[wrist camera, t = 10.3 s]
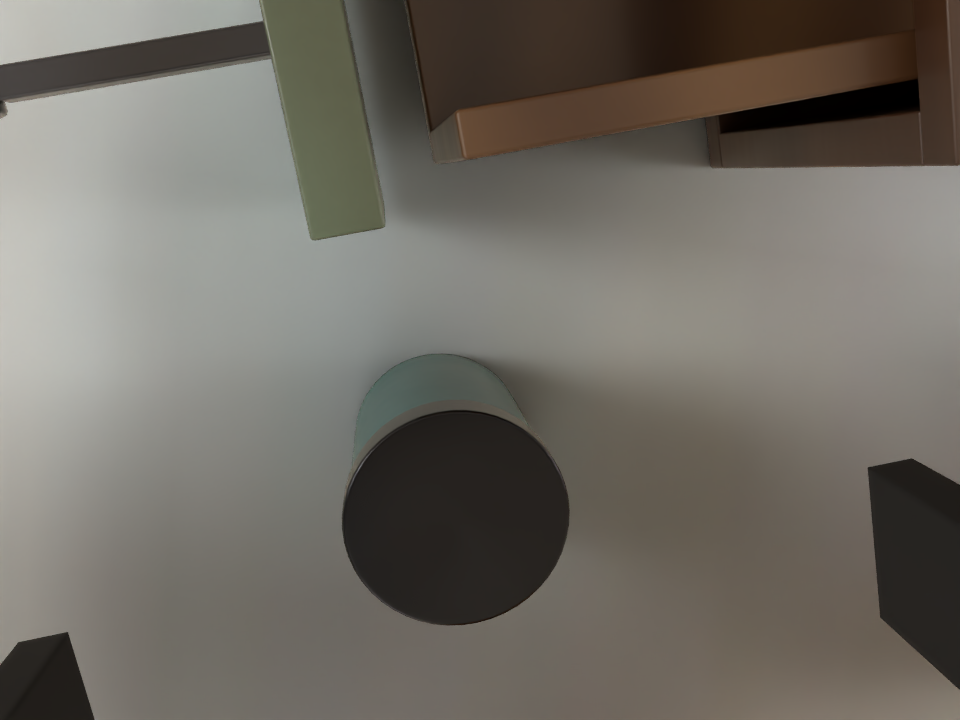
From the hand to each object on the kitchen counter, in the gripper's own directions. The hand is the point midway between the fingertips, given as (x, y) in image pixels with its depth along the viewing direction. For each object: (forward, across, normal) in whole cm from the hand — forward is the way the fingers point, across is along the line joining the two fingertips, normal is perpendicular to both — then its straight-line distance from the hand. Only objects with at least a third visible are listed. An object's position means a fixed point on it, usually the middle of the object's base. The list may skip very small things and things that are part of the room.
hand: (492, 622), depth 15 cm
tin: (+11, 0, 0) cm, 11 cm away
